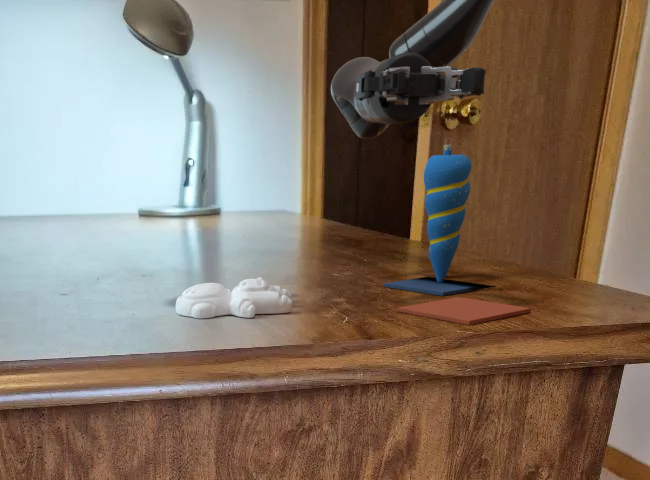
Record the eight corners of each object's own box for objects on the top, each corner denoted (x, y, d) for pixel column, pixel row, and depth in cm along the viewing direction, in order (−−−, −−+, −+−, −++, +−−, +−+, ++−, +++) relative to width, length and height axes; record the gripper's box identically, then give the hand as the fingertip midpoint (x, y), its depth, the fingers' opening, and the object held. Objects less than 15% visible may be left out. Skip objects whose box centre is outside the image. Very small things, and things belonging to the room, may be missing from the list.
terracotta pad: (458, 300, 83) (458, 296, 83) (530, 312, 76) (531, 308, 76) (397, 311, 78) (397, 307, 78) (469, 325, 72) (469, 320, 72)
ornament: (466, 285, 89) (481, 136, 82) (421, 287, 89) (431, 138, 82) (455, 279, 94) (468, 137, 87) (412, 280, 94) (421, 138, 87)
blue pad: (436, 278, 97) (436, 275, 97) (496, 286, 90) (496, 283, 90) (383, 286, 92) (383, 283, 92) (442, 296, 86) (443, 292, 85)
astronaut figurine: (290, 318, 76) (291, 285, 75) (169, 319, 78) (167, 287, 76) (294, 302, 84) (294, 272, 83) (184, 303, 85) (182, 274, 84)
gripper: (342, 57, 98) (378, 40, 84) (453, 55, 100) (506, 38, 85) (341, 125, 102) (375, 119, 87) (447, 122, 103) (498, 116, 89)
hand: (440, 79), depth 86 cm, fingers open, 8 cm apart
